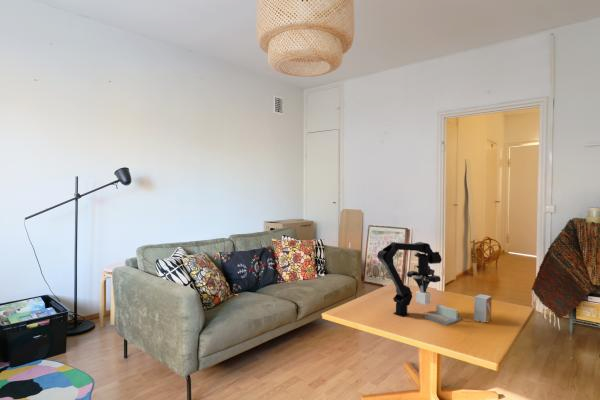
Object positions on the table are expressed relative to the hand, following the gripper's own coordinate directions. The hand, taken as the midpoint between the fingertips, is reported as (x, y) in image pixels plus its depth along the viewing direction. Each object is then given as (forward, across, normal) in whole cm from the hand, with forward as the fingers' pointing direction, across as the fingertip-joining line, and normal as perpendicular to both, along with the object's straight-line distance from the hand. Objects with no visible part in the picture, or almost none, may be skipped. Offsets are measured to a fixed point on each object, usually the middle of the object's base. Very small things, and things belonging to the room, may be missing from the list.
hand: (423, 291), depth 205 cm
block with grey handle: (+7, 0, 0) cm, 7 cm away
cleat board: (+12, -13, +1) cm, 18 cm away
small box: (+12, -27, -15) cm, 33 cm away
